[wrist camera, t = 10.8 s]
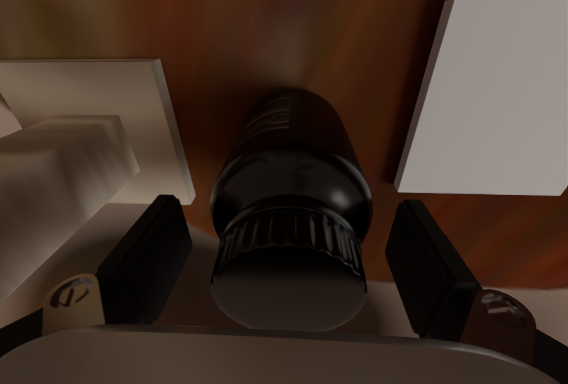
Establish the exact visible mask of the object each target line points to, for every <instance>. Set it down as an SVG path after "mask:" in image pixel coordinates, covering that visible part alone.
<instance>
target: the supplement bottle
mask: <svg viewBox="0 0 568 384" xmlns="http://www.w3.org/2000/svg"><path fill="white" fill-rule="evenodd" d="M210 213H211V219H212V223H213V227H214V229H215V232H216V234H217V236H218V238H219V240H220V244H219V249H218V256H217V259H216V263H215V266H214V269H213V273H212V276H211V280H210V285H211V295H212V296H213V297H214V302H215V303H216V304H217V305H218V306H219V308H220V310H221V311H223V312H224V313H226V315H227V316H228V317H229V318H232V319H234V320H235V321H236V322H237V323H240V324H243V325H245V326H246V327H248V328H252V329H266V330H287V331H307V332H325V331H327V330H329V329H335V328H336V327H338V326H339V325H342V324H345V323H346V322H347V321H348V320H350V319H352V318H354V316H355V314H356V313H358V312H359V311H361V306H362V305H363V304H364V303H365V296H366V294H367V286H366V278H365V273H364V269H363V265H362V262H361V259H362V254H361V248H360V246H361V244H362V243H363V241H364V239H365V238H366V236H367V234H368V231H369V228H370V225H371V221H372V215H373V203H372V197H371V194H370V190H369V187H368V184H367V181H366V179H365V176H364V174H363V171H362V169H361V167H360V164H359V162H358V159H357V157H356V154H355V152H354V149H353V147H352V145H351V142H350V140H349V137H348V135H347V132H346V130H345V128H344V125H343V123H342V121H341V119H340V117H339V115H338V113H337V112H336V110H335V109H334V108H333V107H332V106H331V104H330V103H328V102H327V101H326V100H325V99H323V98H322V97H320V96H318V95H316V94H314V93H312V92H308V91H304V90H297V89H290V90H283V91H279V92H276V93H273V94H271V95H269V96H267V97H265V98H264V99H263V100H261V101H260V102H259V103H258V104H257V105H256V106H255V107H254V108H253V109H252V111H251V112H250V113H249V115H248V117H247V119H246V120H245V122H244V124H243V126H242V128H241V130H240V133H239V135H238V137H237V139H236V141H235V143H234V145H233V147H232V149H231V151H230V153H229V155H228V157H227V159H226V161H225V163H224V165H223V168H222V170H221V172H220V174H219V176H218V178H217V181H216V183H215V186H214V188H213V192H212V195H211V202H210Z"/></svg>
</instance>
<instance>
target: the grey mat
mask: <svg viewBox="0 0 568 384" xmlns="http://www.w3.org/2000/svg"><path fill="white" fill-rule="evenodd" d="M394 186H395V188H396V190H397V191H398V192H418V193H464V194H509V195H554V196H560V195H561V194H562V192H563V191H564V190H565V188H566V187H567V186H568V0H448V1H445V2H444V6H443V9H442V13H441V16H440V20H439V24H438V27H437V31H436V34H435V38H434V41H433V45H432V49H431V52H430V56H429V59H428V63H427V67H426V70H425V74H424V77H423V81H422V85H421V88H420V92H419V95H418V99H417V103H416V106H415V110H414V113H413V117H412V120H411V124H410V128H409V131H408V135H407V138H406V142H405V146H404V149H403V153H402V156H401V160H400V164H399V167H398V171H397V174H396V178H395V181H394Z"/></svg>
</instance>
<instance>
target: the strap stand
mask: <svg viewBox="0 0 568 384" xmlns="http://www.w3.org/2000/svg"><path fill="white" fill-rule="evenodd" d="M0 93H1V94H2V96H3V98H4V99H5V101H6V102H7V104H8V106H9V107H10V109H11V110H12V112H13V114H14V115H15V117H16V119H17V120H18V122H19V123H20V125H21V126H22V128H23V129H22V130H20V131H17V132H15V133H12V134H10V135H7V136H5V137H2V138H0V304H1V303H2V302H3V301H4V300H5V299H6V298H7V297H8V296H9V295H10V294H11V293H12V292H13V291H14V290H15V289H16V288H17V287H19V286H20V285H21V284H22V283H23V282H24V281H25V280H26V279H27V278H28V277H29V276H30V275H31V274H32V273H33V272H34V271H35V270H36V269H37V268H38V267H39V266H41V265H42V264H43V263H44V262H45V261H46V260H47V259H48V258H49V257H50V256H51V255H52V254H53V253H54V252H55V251H56V250H57V249H58V248H59V247H60V246H62V245H63V244H64V243H65V242H66V241H67V240H68V239H69V238H70V237H71V236H72V235H73V234H74V233H75V232H76V231H77V230H78V229H79V228H80V227H82V225H83V224H85V223H86V222H87V221H88V220H89V219H90V218H91V217H92V216H93V215H94V214H95V213H96V212H97V211H98V210H99V209H100V208H101V207H102V206H104V205H105V204H106V203H138V204H151V203H152V202H153V201H154V200H155V198H156V197H157V196H158V195H160V194H167V195H174V196H175V197H176V198H178V199H179V200H180V203H181V205H191V203H192V201H193V200H194V198H195V196H196V195H195V191H194V188H193V184H192V180H191V176H190V172H189V168H188V164H187V161H186V157H185V153H184V149H183V145H182V141H181V138H180V134H179V130H178V126H177V122H176V118H175V115H174V111H173V107H172V103H171V99H170V95H169V92H168V88H167V84H166V80H165V76H164V72H163V68H162V65H161V61H160V59H49V60H0Z"/></svg>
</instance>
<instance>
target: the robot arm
mask: <svg viewBox="0 0 568 384" xmlns="http://www.w3.org/2000/svg"><path fill="white" fill-rule="evenodd" d="M191 250H192V241H191V237H190V234H189V231H188V227H187V224H186V220H185V217H184V213H183V210H182V207H181V203H180V200H179V199H178V198H176V197H175V196H174V195H167V194H160V195H158V196H157V197H156V198H155V200H154V201H153V202H152V203H151V205H150V206H149V207H148V208H147V209H146V211H145V212H144V213H143V214H142V216H141V217H140V218H139V219H138V220H137V221H136V223H135V224H134V225H133V226H132V227H131V229H130V230H129V231H128V232H127V233H126V235H125V236H124V237H123V238H122V240H121V241H120V242H119V243H118V244H117V246H116V247H115V248H114V249H113V250H112V251H111V253H110V254H109V255H108V256H107V257H106V259H105V260H104V261H103V263H101V265H100V266H99V267H98V272H97V273H96V274H95V275H92V274H81V275H77V276H74V277H71V278H69V279H67V280H65V281H63V282H62V283H60V284H59V285H57V286H56V287H55V288H54V289H53V290H52V291H51V292H50V293H49V294H48V296H47V297H46V298H45V301H44V305H43V308H41V309H39V310H38V311H35V312H33V313H31V314H29V315H27V316H25V317H23V318H21V319H19V320H17V321H15V322H13V323H11V324H9V325H7V326H5V327H3V328H1V329H0V384H568V347H567V346H566V345H564V344H562V343H560V342H558V341H557V340H555V339H553V338H551V337H550V336H548V335H546V334H545V333H543V332H541V331H539V330H537V329H536V323H535V319H534V318H533V316H532V314H531V313H530V311H529V310H528V309H527V308H526V307H525V306H524V305H523V304H522V303H520V302H519V301H518V300H516V299H515V298H513V297H511V296H510V295H508V294H505V293H503V292H500V291H497V290H492V289H486V290H483V289H482V287H481V286H480V284H479V283H478V281H477V280H476V278H475V277H474V276H473V274H472V273H471V271H470V270H469V268H468V267H467V265H466V264H465V262H464V261H463V260H462V258H461V257H460V255H459V254H458V252H457V251H456V249H455V248H454V246H453V245H452V244H451V242H450V241H449V239H448V238H447V236H446V235H445V234H444V233H443V232H442V230H441V229H440V227H439V226H438V224H437V223H436V222H435V220H434V219H433V217H432V216H431V214H430V213H429V211H428V210H427V208H426V207H425V205H424V204H423V203H422V201H421V200H404V201H403V203H399V205H398V208H397V211H396V215H395V218H394V221H393V225H392V228H391V232H390V235H389V238H388V242H387V245H386V249H385V255H386V259H387V261H388V264H389V267H390V270H391V272H392V275H393V278H394V280H395V283H396V286H397V289H398V291H399V294H400V297H401V300H402V302H403V305H404V308H405V310H406V313H407V316H408V319H409V321H410V324H411V327H412V329H413V331H414V333H416V334H419V337H420V338H411V337H397V336H381V335H363V334H345V333H325V332H307V331H287V330H266V329H245V328H223V327H199V326H176V325H152V323H153V322H154V321H156V320H157V319H158V318H159V317H160V314H161V312H162V310H163V308H164V306H165V304H166V302H167V300H168V298H169V296H170V294H171V292H172V289H173V288H174V285H175V283H176V281H177V279H178V277H179V275H180V273H181V271H182V268H183V267H184V265H185V263H186V261H187V259H188V256H189V254H190V252H191Z"/></svg>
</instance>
